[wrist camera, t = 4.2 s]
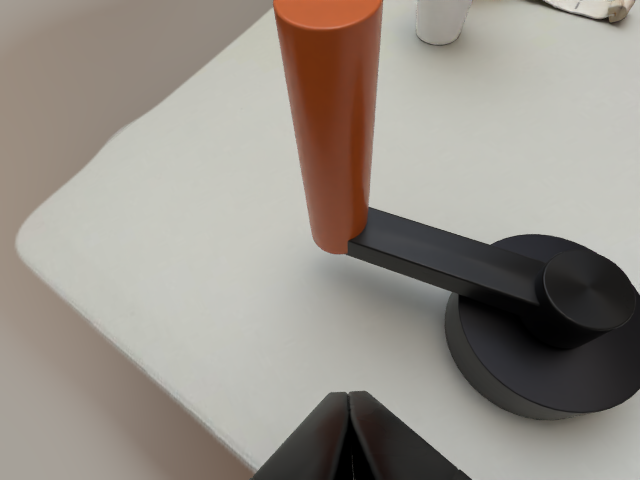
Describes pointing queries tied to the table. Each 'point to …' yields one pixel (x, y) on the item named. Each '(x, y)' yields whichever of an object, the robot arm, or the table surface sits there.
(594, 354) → the base
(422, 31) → the cup
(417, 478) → the robot arm
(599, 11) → the toy measuring tape
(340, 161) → the crank handle
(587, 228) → the table surface
